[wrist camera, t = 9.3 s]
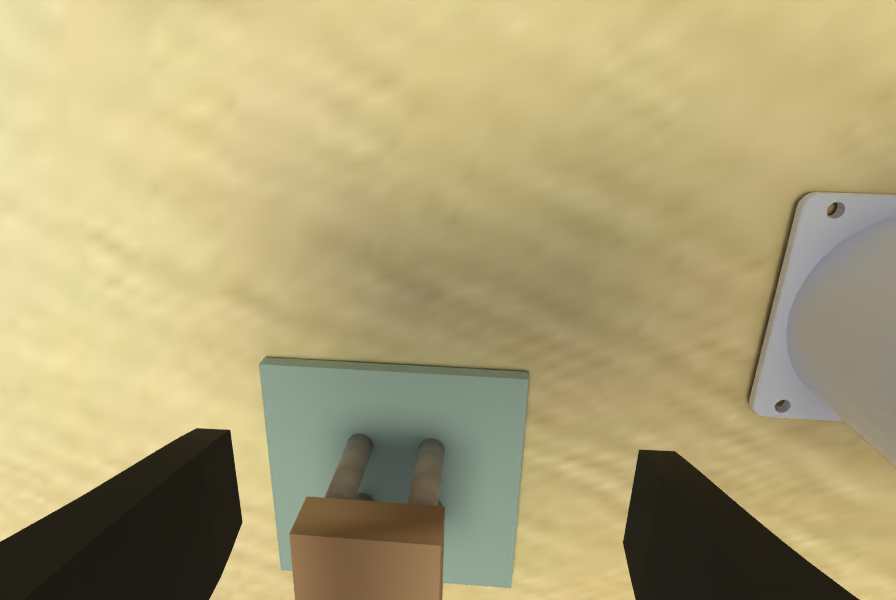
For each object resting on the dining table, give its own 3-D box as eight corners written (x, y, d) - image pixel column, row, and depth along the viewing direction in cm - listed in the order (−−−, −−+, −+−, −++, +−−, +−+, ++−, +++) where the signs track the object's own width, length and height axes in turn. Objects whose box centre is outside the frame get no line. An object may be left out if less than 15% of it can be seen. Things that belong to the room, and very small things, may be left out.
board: (527, 371, 20) (528, 379, 20) (510, 576, 24) (510, 588, 23) (265, 357, 21) (259, 364, 20) (285, 559, 24) (280, 569, 24)
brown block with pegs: (453, 432, 21) (440, 545, 16) (449, 525, 22) (437, 655, 17) (339, 425, 21) (289, 534, 16) (343, 517, 23) (299, 643, 17)
